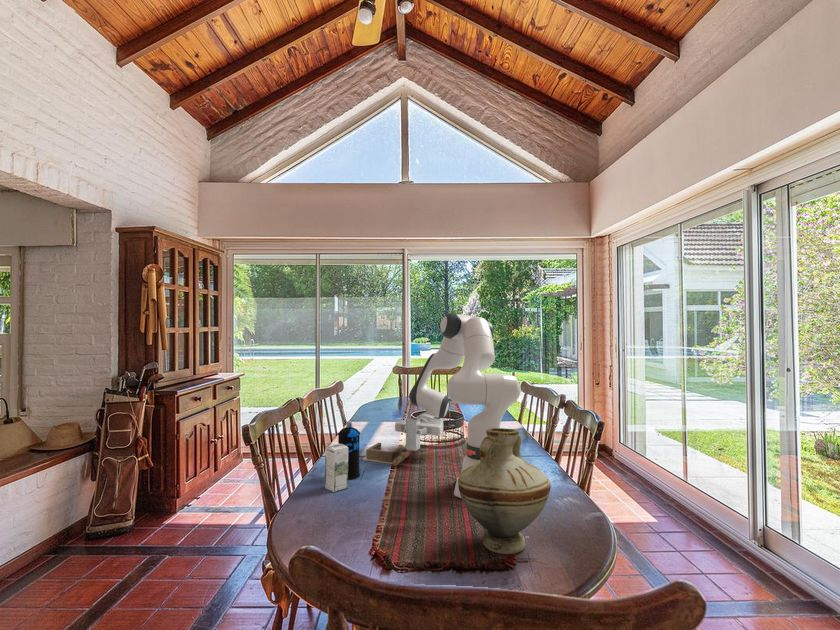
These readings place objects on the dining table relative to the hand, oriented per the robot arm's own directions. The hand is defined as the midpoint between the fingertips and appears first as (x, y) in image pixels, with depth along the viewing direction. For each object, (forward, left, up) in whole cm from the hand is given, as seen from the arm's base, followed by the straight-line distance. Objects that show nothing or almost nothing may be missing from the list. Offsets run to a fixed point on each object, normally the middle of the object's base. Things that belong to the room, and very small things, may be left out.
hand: (412, 431), depth 183 cm
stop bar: (+1, 0, -7) cm, 7 cm away
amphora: (-52, -46, -13) cm, 70 cm away
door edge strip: (+1, +5, -12) cm, 13 cm away
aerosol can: (-23, +16, -13) cm, 31 cm away
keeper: (+2, +13, -12) cm, 18 cm away
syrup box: (-35, +14, -13) cm, 40 cm away
